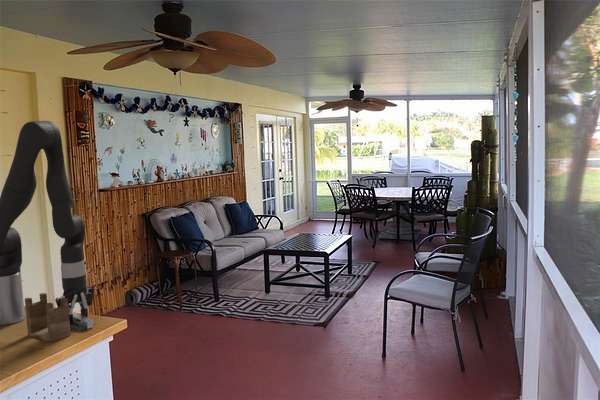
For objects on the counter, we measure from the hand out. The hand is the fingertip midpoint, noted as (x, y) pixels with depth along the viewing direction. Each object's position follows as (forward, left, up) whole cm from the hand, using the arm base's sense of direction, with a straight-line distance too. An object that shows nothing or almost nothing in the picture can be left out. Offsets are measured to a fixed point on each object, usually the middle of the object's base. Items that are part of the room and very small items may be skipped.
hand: (77, 321), depth 174 cm
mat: (0, 0, -1) cm, 1 cm away
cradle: (-1, -10, -1) cm, 10 cm away
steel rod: (0, 0, 0) cm, 1 cm away
